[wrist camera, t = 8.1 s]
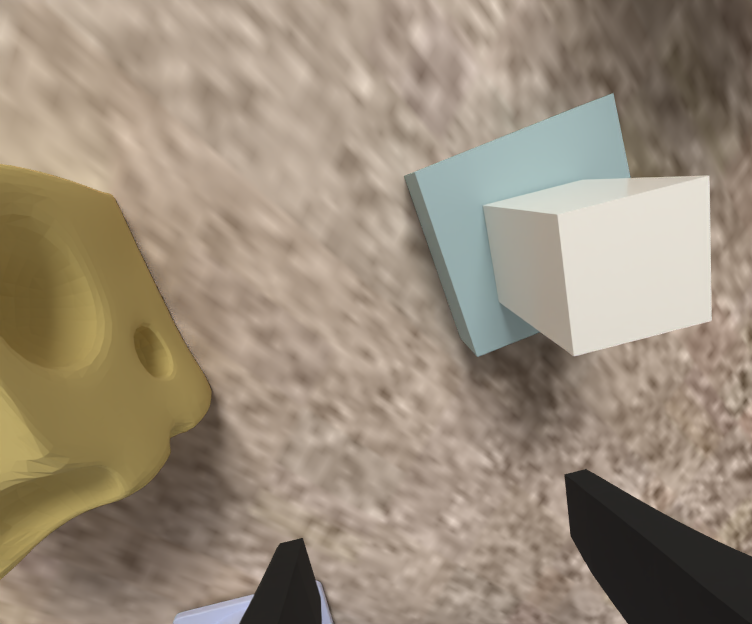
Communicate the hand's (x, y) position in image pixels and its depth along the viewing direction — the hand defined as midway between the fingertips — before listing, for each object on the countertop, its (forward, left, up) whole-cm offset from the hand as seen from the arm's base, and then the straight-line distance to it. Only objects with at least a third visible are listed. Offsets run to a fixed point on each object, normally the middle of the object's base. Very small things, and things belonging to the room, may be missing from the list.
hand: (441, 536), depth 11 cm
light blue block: (+6, -7, -10) cm, 14 cm away
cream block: (+6, -7, -7) cm, 11 cm away
